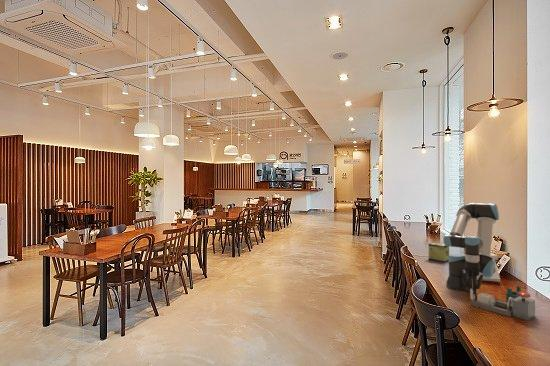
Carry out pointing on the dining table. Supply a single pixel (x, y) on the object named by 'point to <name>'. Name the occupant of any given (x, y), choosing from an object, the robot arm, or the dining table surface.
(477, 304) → the guide rails
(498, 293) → the dining table surface
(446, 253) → the protein box
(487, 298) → the cube with cylindrical stub
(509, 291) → the green irregular piece
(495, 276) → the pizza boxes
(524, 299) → the button station
